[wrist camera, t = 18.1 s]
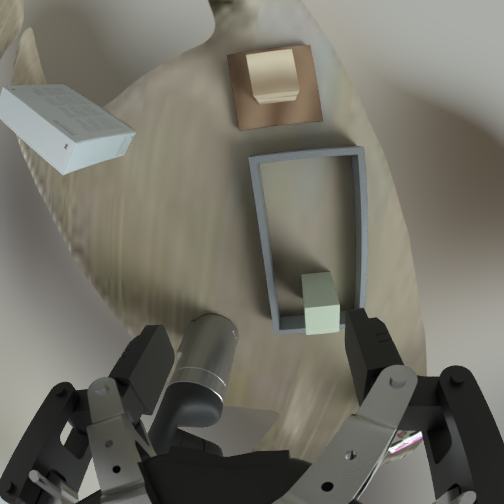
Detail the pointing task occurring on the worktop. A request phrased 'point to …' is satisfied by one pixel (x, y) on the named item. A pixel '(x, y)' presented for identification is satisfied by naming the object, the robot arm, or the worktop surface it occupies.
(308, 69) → the walnut board
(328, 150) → the grey bin
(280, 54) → the birch block
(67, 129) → the skincare box
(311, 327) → the sage block
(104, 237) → the worktop surface
